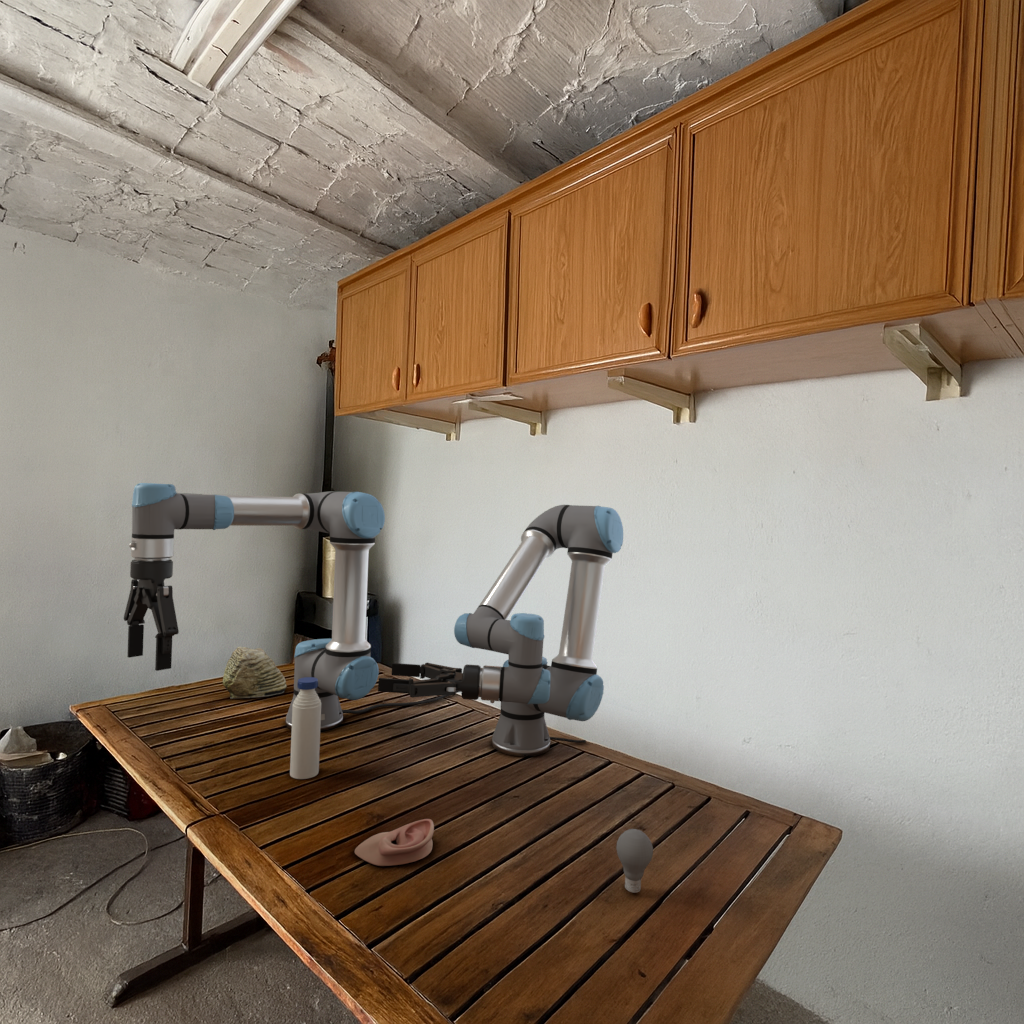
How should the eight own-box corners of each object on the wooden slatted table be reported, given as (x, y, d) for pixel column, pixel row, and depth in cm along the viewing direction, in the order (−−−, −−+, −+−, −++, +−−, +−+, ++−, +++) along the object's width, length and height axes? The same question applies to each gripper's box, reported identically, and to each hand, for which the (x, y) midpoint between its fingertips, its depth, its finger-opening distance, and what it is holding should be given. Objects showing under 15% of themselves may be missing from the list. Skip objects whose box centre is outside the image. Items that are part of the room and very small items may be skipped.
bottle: (311, 765, 149) (314, 676, 149) (323, 774, 144) (327, 682, 144) (285, 772, 145) (288, 680, 144) (297, 781, 140) (300, 687, 140)
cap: (312, 682, 147) (312, 676, 147) (321, 687, 144) (321, 680, 144) (294, 686, 144) (294, 679, 144) (302, 691, 141) (302, 683, 141)
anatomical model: (347, 838, 110) (374, 807, 122) (346, 860, 111) (373, 828, 122) (419, 850, 108) (440, 817, 119) (418, 873, 108) (439, 838, 119)
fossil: (218, 695, 195) (220, 647, 195) (278, 685, 208) (279, 640, 207) (228, 703, 189) (230, 653, 188) (289, 692, 201) (290, 645, 201)
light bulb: (610, 879, 108) (613, 822, 108) (644, 879, 109) (647, 822, 109) (619, 902, 102) (622, 840, 102) (655, 901, 103) (658, 840, 103)
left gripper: (108, 554, 134) (104, 654, 134) (159, 565, 118) (155, 678, 119) (146, 552, 140) (143, 648, 140) (199, 563, 124) (195, 671, 124)
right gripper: (475, 717, 128) (371, 710, 129) (483, 684, 153) (396, 678, 154) (477, 680, 128) (373, 673, 129) (485, 653, 153) (398, 648, 154)
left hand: (148, 662), depth 129 cm, fingers open, 13 cm apart
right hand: (385, 676), depth 141 cm, fingers open, 13 cm apart
